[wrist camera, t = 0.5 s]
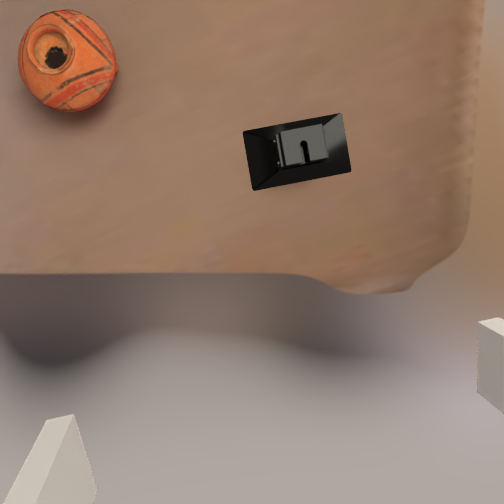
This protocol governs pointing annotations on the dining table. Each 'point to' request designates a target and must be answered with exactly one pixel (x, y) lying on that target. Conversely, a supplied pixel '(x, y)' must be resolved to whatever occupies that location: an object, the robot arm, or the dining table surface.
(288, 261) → the dining table surface
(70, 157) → the dining table surface
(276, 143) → the black box
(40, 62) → the pot
